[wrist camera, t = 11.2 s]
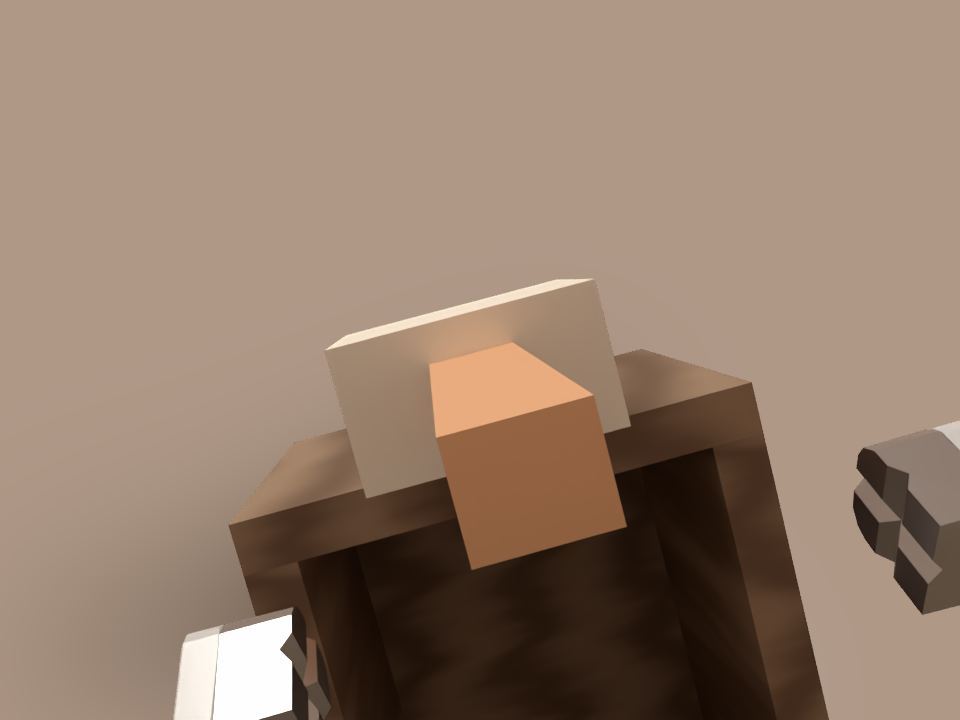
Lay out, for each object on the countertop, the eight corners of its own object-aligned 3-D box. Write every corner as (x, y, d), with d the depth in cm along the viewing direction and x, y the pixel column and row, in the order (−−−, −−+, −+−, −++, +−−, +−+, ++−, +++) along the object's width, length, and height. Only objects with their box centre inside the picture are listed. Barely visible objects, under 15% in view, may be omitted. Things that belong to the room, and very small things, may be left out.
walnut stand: (415, 1143, 34) (226, 517, 31) (417, 866, 49) (292, 437, 47) (892, 996, 34) (749, 374, 32) (743, 770, 50) (640, 343, 48)
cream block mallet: (318, 689, 15) (235, 412, 14) (378, 450, 36) (346, 335, 35) (810, 549, 15) (748, 275, 15) (584, 394, 36) (555, 279, 35)
